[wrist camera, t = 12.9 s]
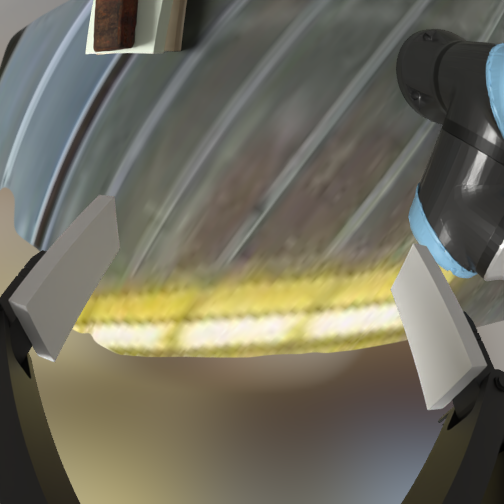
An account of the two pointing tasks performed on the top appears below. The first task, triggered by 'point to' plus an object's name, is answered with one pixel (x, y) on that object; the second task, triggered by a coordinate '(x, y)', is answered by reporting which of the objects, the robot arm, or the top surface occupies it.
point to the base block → (174, 26)
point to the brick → (114, 24)
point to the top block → (142, 28)
